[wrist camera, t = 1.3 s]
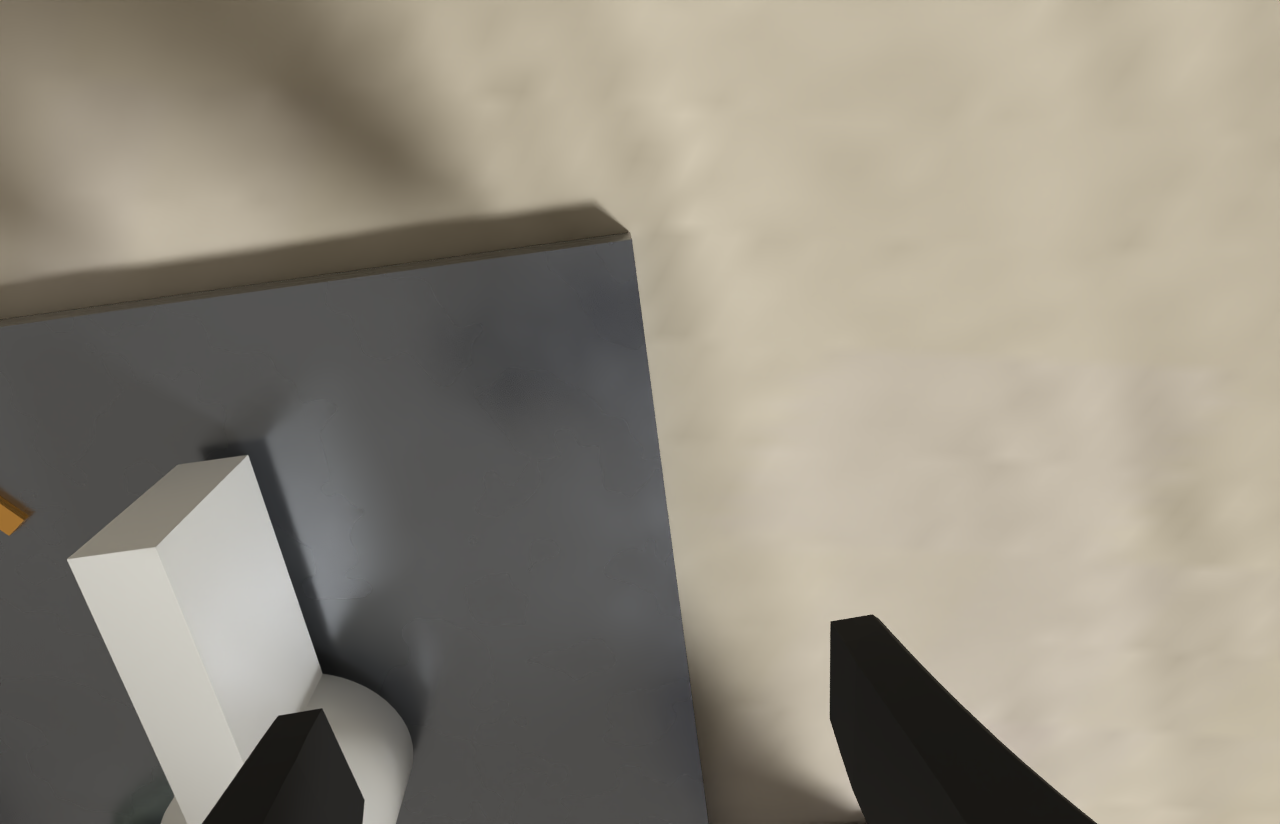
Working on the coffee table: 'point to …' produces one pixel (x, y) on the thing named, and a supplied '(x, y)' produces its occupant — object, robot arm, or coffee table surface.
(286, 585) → the white block
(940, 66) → the coffee table surface
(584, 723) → the base plate
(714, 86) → the coffee table surface
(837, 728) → the robot arm
